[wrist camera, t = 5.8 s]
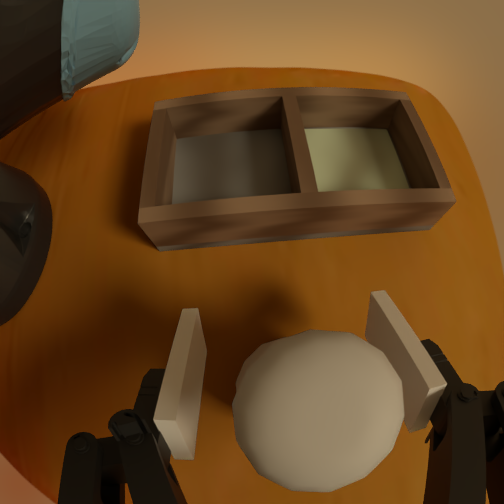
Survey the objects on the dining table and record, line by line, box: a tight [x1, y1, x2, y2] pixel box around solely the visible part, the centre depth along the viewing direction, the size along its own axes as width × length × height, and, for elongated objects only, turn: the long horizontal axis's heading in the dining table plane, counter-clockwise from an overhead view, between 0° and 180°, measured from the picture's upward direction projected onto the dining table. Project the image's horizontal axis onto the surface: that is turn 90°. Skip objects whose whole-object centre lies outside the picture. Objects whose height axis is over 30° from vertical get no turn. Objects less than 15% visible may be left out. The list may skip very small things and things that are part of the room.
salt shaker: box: [232, 330, 404, 492], centre depth 12 cm, size 6×6×13 cm
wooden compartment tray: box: [138, 87, 456, 251], centre depth 21 cm, size 20×10×4 cm, turn 94°
